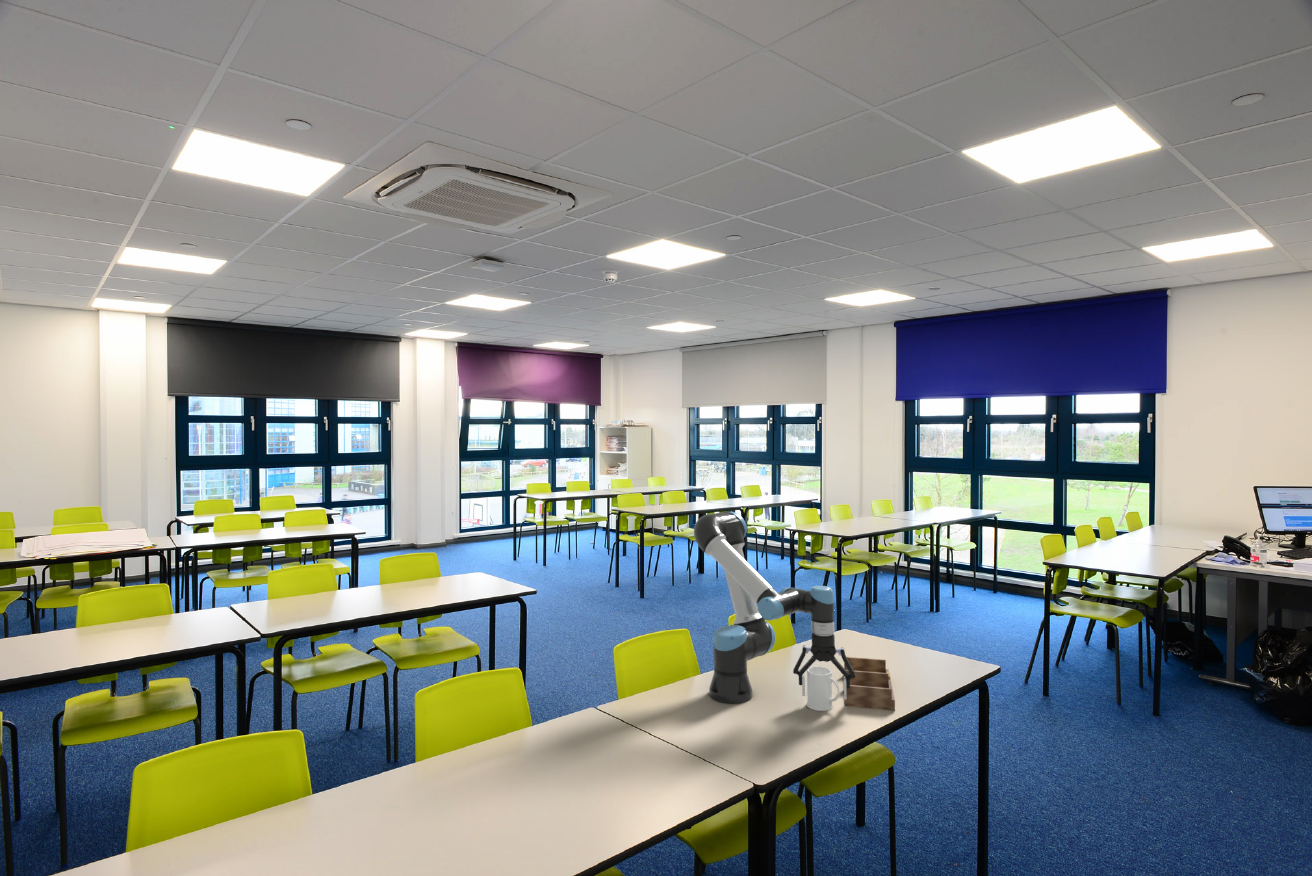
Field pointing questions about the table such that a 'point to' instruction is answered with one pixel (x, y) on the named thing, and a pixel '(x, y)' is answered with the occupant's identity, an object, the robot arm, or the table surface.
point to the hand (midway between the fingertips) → (824, 696)
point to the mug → (820, 689)
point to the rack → (870, 685)
